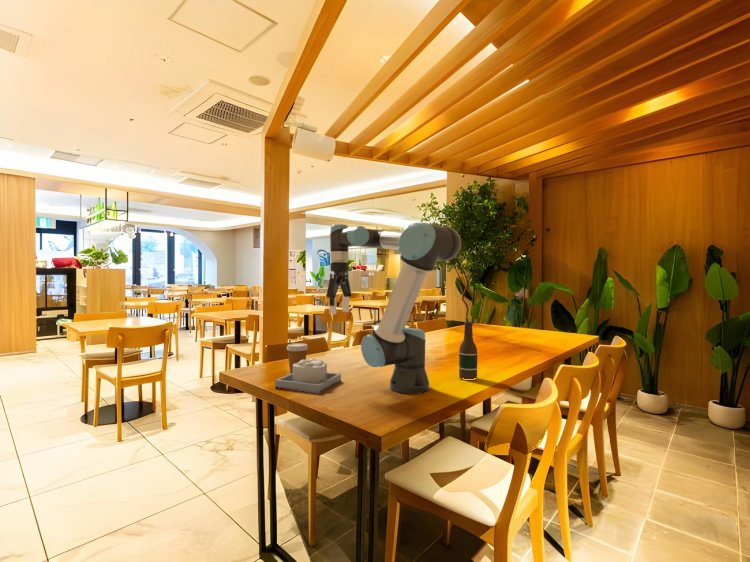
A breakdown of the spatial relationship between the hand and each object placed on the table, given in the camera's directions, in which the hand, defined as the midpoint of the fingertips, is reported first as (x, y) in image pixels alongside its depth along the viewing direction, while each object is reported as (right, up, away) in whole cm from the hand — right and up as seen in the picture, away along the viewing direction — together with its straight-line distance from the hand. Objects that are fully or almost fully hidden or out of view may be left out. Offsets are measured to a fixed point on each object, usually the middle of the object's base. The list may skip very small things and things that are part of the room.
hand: (339, 313), depth 160 cm
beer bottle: (+54, -28, +2) cm, 61 cm away
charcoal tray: (-11, -27, -9) cm, 31 cm away
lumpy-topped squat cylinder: (-11, -27, -9) cm, 30 cm away
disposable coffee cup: (-20, -28, +12) cm, 36 cm away
